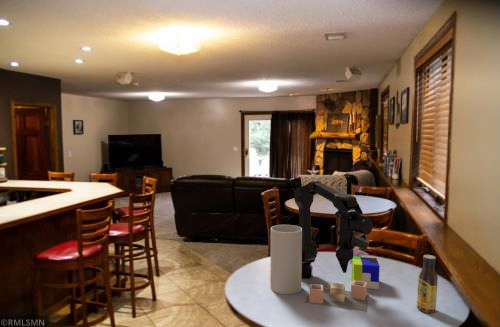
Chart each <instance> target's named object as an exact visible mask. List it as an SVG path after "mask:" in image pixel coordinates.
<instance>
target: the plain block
mask: <svg viewBox="0 0 500 327" xmlns="http://www.w3.org/2000/svg"><path fill="white" fill-rule="evenodd" d="M329 289H330V300H331V301H338V302H344V299H345V291H346V284H345V283H340V282H339V283H338V282H331V284H330V288H329Z"/></svg>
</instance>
